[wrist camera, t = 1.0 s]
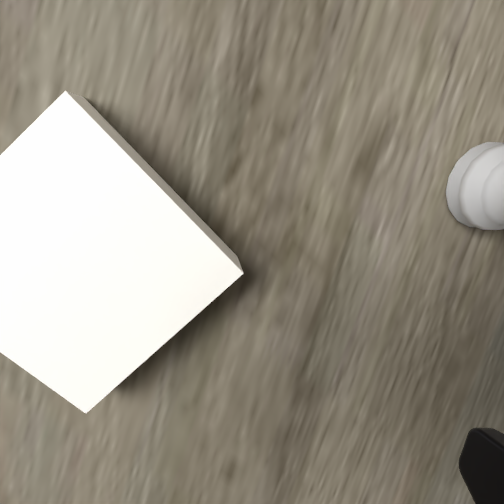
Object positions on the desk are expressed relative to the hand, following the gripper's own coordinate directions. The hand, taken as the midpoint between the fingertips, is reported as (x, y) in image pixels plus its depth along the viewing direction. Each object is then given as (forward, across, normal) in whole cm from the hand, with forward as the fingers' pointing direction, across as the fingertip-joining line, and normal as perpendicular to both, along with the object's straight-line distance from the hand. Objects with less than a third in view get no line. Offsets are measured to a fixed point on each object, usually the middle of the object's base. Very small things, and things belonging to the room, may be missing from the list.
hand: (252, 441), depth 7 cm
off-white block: (+14, +6, +1) cm, 15 cm away
